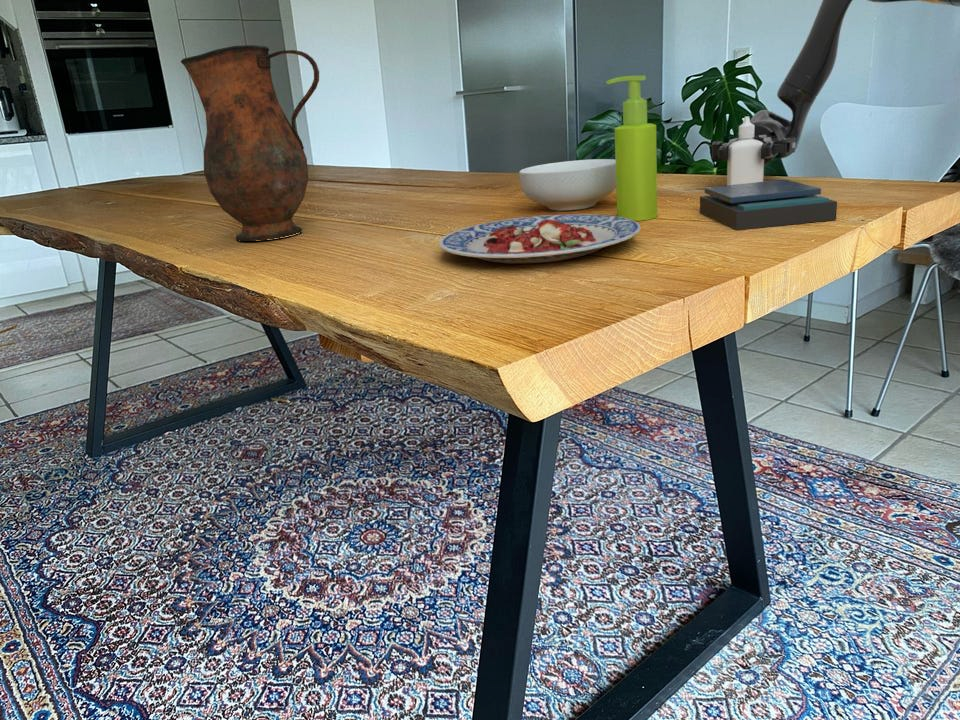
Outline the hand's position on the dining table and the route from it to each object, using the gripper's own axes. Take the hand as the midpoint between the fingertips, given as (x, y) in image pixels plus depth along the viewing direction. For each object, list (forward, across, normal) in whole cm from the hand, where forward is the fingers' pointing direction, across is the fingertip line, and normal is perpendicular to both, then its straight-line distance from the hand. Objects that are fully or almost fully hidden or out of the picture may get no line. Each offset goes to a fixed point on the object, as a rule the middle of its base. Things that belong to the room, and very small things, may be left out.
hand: (743, 153), depth 119 cm
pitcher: (+34, +70, -7) cm, 78 cm away
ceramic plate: (+42, +18, -7) cm, 47 cm away
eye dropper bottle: (-3, 0, -7) cm, 7 cm away
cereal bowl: (+10, +26, -7) cm, 29 cm away
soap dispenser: (+21, +12, -7) cm, 25 cm away
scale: (+20, -6, -6) cm, 22 cm away
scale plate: (+19, -6, -4) cm, 20 cm away
